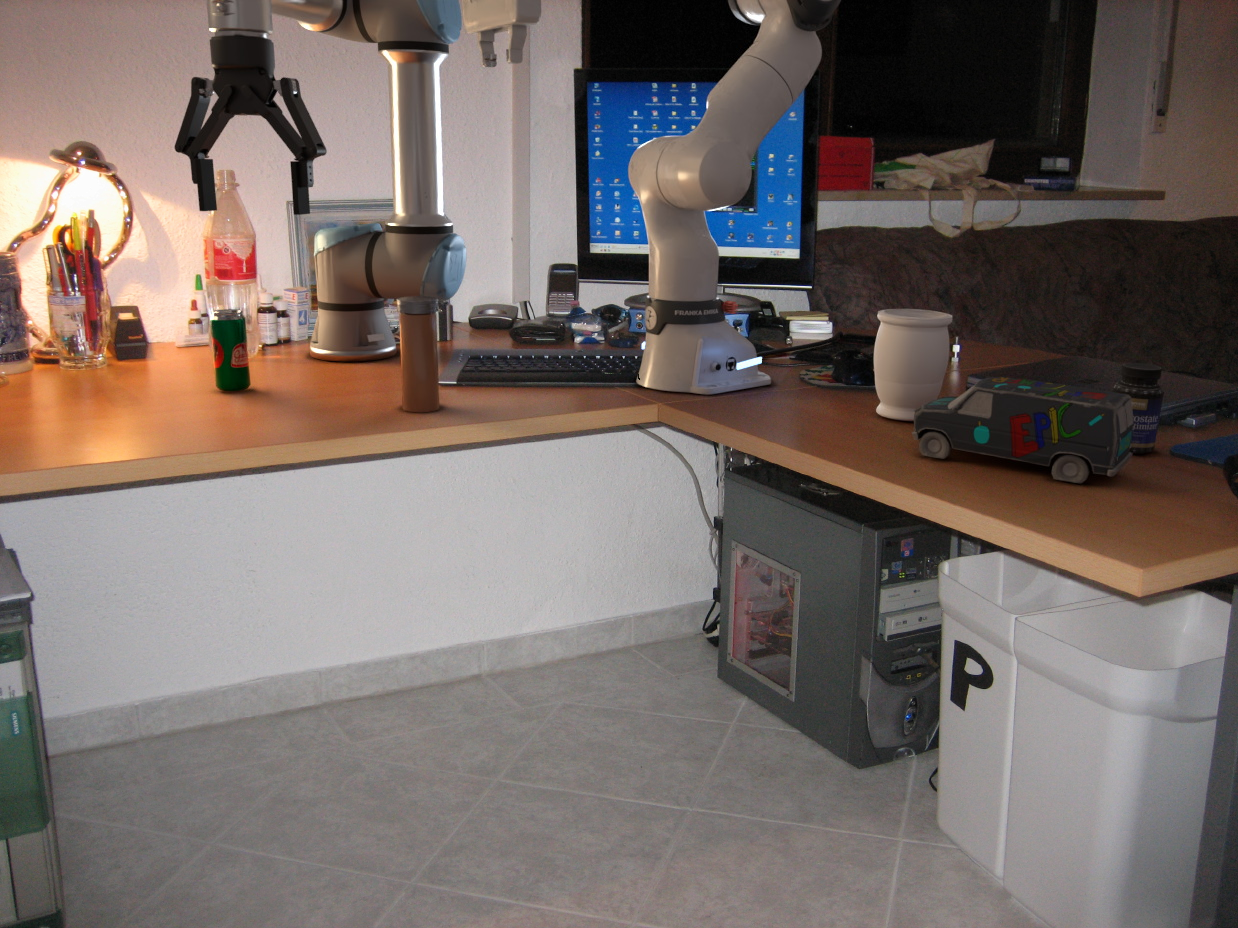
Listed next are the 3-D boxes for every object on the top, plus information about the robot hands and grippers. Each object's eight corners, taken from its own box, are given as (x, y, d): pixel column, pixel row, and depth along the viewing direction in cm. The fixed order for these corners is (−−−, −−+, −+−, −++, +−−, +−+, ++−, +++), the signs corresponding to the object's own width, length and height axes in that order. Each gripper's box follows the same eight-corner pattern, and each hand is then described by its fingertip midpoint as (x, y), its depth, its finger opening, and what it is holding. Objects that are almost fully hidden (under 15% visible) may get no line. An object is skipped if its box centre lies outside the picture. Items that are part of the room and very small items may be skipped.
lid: (446, 310, 152) (446, 298, 152) (418, 315, 148) (417, 302, 147) (417, 307, 156) (417, 295, 155) (388, 311, 151) (388, 299, 151)
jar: (854, 409, 159) (862, 309, 155) (910, 404, 163) (920, 306, 159) (898, 426, 150) (909, 320, 146) (957, 420, 154) (969, 317, 150)
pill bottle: (1117, 454, 138) (1130, 370, 135) (1094, 442, 144) (1106, 361, 140) (1163, 454, 138) (1177, 370, 135) (1139, 442, 144) (1152, 361, 141)
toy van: (934, 436, 145) (942, 364, 142) (1131, 470, 131) (1144, 390, 128) (905, 453, 136) (913, 376, 134) (1112, 490, 123) (1125, 406, 120)
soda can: (239, 393, 162) (233, 314, 158) (209, 391, 163) (202, 312, 159) (257, 386, 167) (251, 309, 163) (227, 384, 168) (221, 308, 164)
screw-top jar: (446, 407, 156) (444, 302, 152) (421, 414, 152) (417, 305, 148) (420, 402, 159) (417, 298, 155) (394, 408, 155) (390, 302, 151)
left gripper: (134, 34, 131) (152, 210, 137) (317, 32, 126) (327, 217, 132) (172, 40, 138) (188, 208, 144) (347, 39, 133) (356, 214, 139)
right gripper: (553, -53, 137) (553, 62, 141) (494, -32, 154) (496, 70, 158) (507, -58, 134) (508, 59, 138) (453, -36, 151) (455, 68, 155)
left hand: (254, 213), depth 138 cm, fingers open, 13 cm apart
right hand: (501, 65), depth 148 cm, fingers open, 8 cm apart
